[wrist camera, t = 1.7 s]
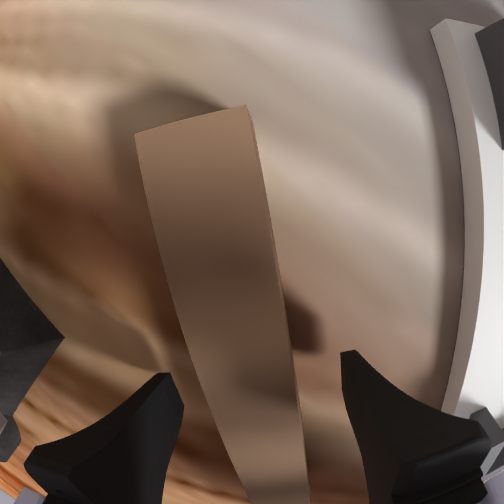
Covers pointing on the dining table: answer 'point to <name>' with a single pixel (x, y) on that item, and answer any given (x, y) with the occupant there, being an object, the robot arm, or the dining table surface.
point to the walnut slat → (229, 292)
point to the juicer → (19, 353)
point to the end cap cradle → (479, 225)
